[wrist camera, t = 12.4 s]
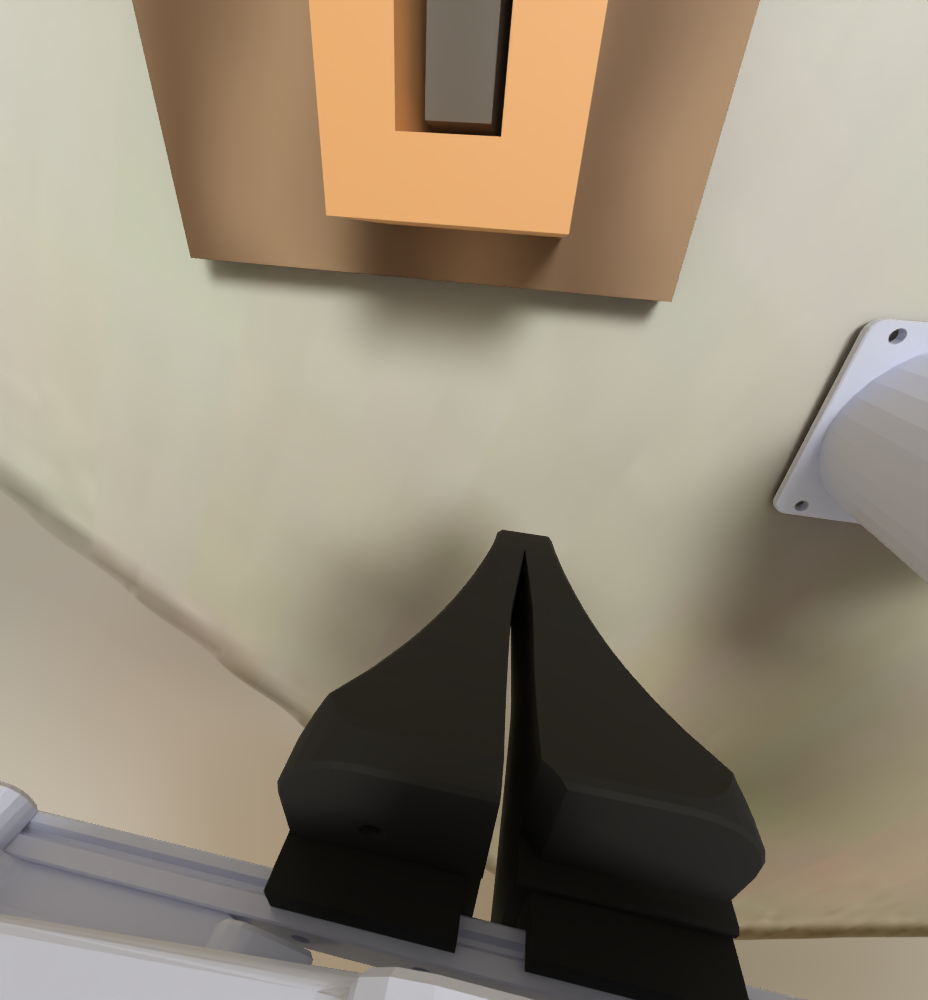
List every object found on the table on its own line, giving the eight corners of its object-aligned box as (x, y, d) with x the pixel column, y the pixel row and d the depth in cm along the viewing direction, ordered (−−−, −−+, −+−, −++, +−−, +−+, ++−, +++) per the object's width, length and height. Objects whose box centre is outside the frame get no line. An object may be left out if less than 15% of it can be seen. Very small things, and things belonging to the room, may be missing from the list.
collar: (637, -230, 10) (708, -602, 5) (562, 237, 14) (569, 234, 10) (380, -222, 10) (263, -551, 6) (388, 224, 15) (326, 215, 11)
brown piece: (783, -137, 11) (963, -427, 6) (661, 297, 16) (708, 318, 11) (137, -131, 13) (-100, -349, 8) (216, 256, 18) (99, 260, 13)
